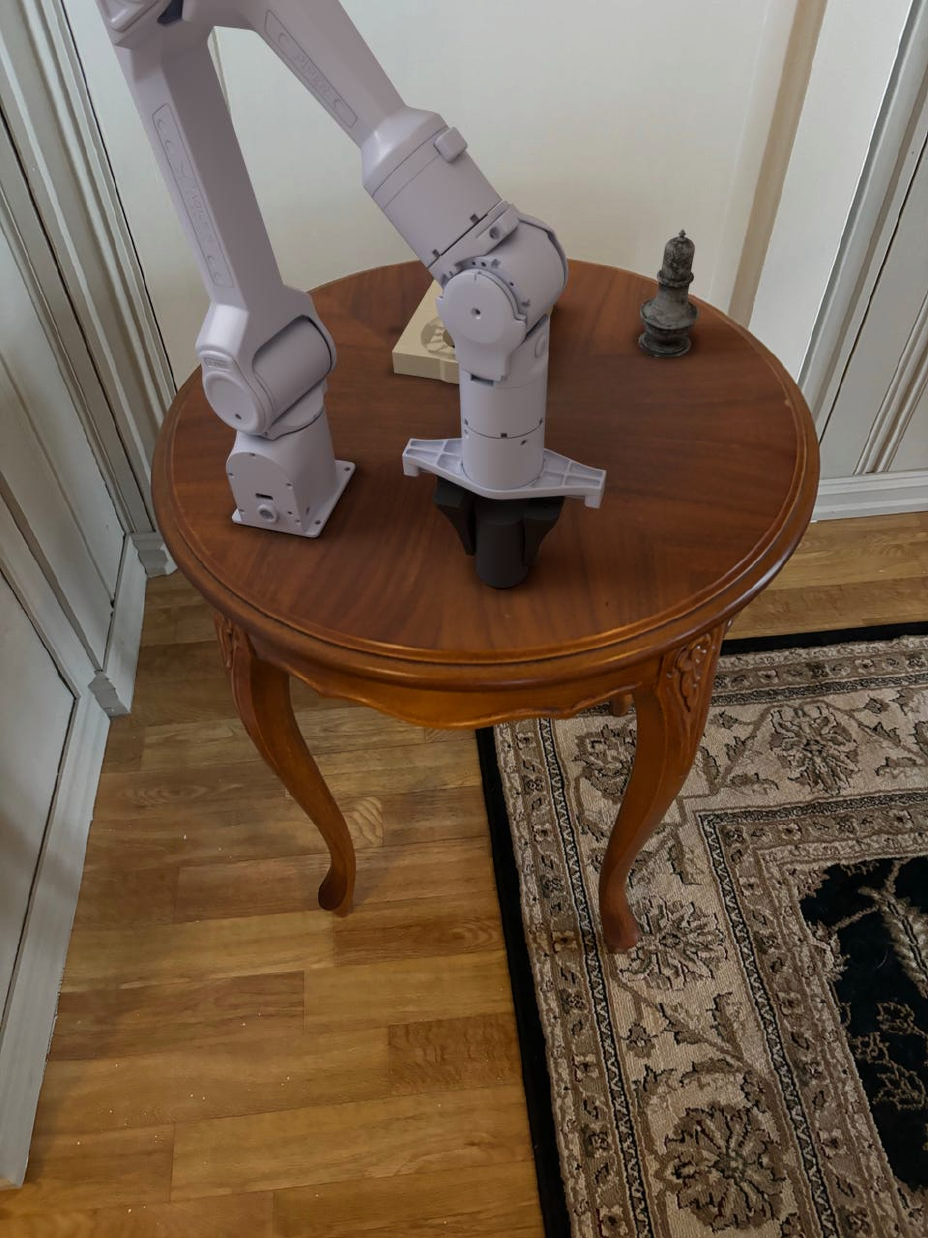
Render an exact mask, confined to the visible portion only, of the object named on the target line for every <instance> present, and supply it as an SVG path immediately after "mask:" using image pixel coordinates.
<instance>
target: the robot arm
mask: <svg viewBox="0 0 928 1238" xmlns="http://www.w3.org/2000/svg"><path fill="white" fill-rule="evenodd" d="M94 1H95V4H96V7H97V9H98V12H99V15H100V17H101V20H102V22H103V25H104V27H105V30H106V33H107V36H108V38H109V40H110V43H111V46H112V49H113V51H114V53H115V56H116V59H117V61H118V64H119V66H120V69H121V73H122V75H123V77H124V80H125V82H126V85H127V87H128V90H129V93H130V96H131V98H132V100H133V103H134V106H135V109H136V111H137V114H138V116H139V118H140V121H141V124H142V126H143V129H144V131H145V134H146V137H147V139H148V142H149V145H150V147H151V150H152V152H153V155H154V157H155V160H156V164H157V165H158V168H159V171H160V174H161V176H162V178H163V181H164V183H165V186H166V189H167V191H168V194H169V197H170V199H171V202H172V204H173V207H174V210H175V212H176V215H177V217H178V220H179V223H180V225H181V228H182V231H183V233H184V236H185V239H186V241H187V244H188V246H189V249H190V251H191V255H192V256H193V259H194V261H195V264H196V268H197V270H198V273H199V275H200V278H201V279H202V280H201V281H202V283H203V285H204V288H205V291H206V293H207V296H208V298H209V301H210V302H209V303H210V304H209V307H208V310H207V312H206V315H205V318H204V320H203V323H202V325H201V328H200V330H199V333H198V335H197V339H196V342H195V344H194V345H195V346H194V349H195V351H196V354H197V356H198V359H199V362H200V364H201V371H202V372H201V375H202V376H201V377H202V378H201V380H202V381H201V382H202V387H203V390H204V394H205V398H206V399H207V402H208V403H209V405H210V407H211V408H212V410H213V411H214V412H215V413H216V415H217V416H218V417H219V419H221V420H222V422H224V423H225V424H227V425H228V426H229V427H231V428H232V429H234V430H236V435H235V441H234V444H233V447H232V449H231V451H230V453H229V455H228V458H227V460H226V463H225V472H226V476H227V479H228V483H229V485H230V489H231V492H232V495H233V498H234V501H235V504H236V507H237V508H236V509H235V510H234V512H233V514H232V516H231V519H232V522H233V523H236V524H239V525H245V526H250V527H255V528H260V529H265V530H272V531H277V532H283V533H286V534H292V535H296V536H301V537H307V538H317V537H319V535H320V534H321V532H322V530H323V529H324V526H325V525H326V523H327V521H328V519H329V518H330V516H331V514H332V512H333V511H334V508H335V507H336V506H337V505H336V504H337V503H338V501H339V500H340V498H341V496H342V494H343V492H344V490H345V488H346V486H347V485H348V483H349V481H350V479H351V478H352V476H353V474H354V472H355V470H356V464H355V463H354V462H351V461H345V460H340V459H336V457H335V452H334V451H335V450H334V447H333V442H332V436H331V430H330V425H329V420H328V413H327V409H326V404H325V394H326V393H327V392H328V391H329V390H328V383H327V378H326V377H328V376H329V375H330V374H332V372H334V370H335V368H336V365H337V362H338V355H337V349H336V345H335V342H334V340H333V337H332V336H331V334H330V331H329V330H328V329H327V327H326V326H325V324H324V323H323V322H322V320H321V318H320V317H319V315H318V312H317V311H316V308H315V307H316V306H315V304H314V301H313V298H312V296H311V295H310V294H309V293H307V292H306V291H304V290H302V289H300V288H298V287H295V286H292V285H289V284H285V283H284V281H283V278H282V275H281V272H280V270H279V266H278V262H277V259H276V256H275V253H274V250H273V247H272V245H271V244H272V243H271V241H270V238H269V233H268V231H267V228H266V225H265V222H264V219H263V215H262V213H261V209H260V206H259V203H258V200H257V196H256V194H255V190H254V186H253V184H252V181H251V178H250V174H249V171H248V168H247V166H246V162H245V159H244V155H243V152H242V149H241V146H240V143H239V140H238V135H237V133H236V130H235V127H234V125H233V121H232V117H231V115H230V111H229V109H228V105H227V102H226V99H225V95H224V93H223V90H222V86H221V83H220V80H219V76H218V74H217V70H216V67H215V64H214V61H213V57H212V55H211V51H210V48H209V44H208V43H209V38H210V35H211V33H212V32H213V29H214V27H219V28H220V27H221V28H229V29H238V30H247V31H252V32H254V33H255V34H257V35H258V37H260V38H261V39H262V41H264V43H266V45H267V47H269V48H270V49H271V51H272V52H273V53H274V54H275V55H276V56H277V57H278V59H279V60H280V61H281V62H282V63H283V64H284V65H285V66H286V67H287V69H288V70H289V71H290V72H291V73H292V74H293V75H294V76H295V77H296V79H297V80H298V81H299V82H300V83H301V84H302V85H303V87H304V88H305V89H306V90H307V91H308V92H309V93H310V94H311V96H312V97H313V98H314V99H315V100H316V101H317V102H318V103H319V105H320V106H321V107H322V108H323V109H324V110H325V112H327V114H328V115H329V116H330V118H332V119H333V120H334V121H335V123H336V124H337V125H338V126H339V127H340V129H342V131H343V132H344V133H345V134H346V135H347V137H349V138H350V140H351V141H352V142H353V143H354V144H355V145H356V147H358V149H359V151H360V155H361V183H362V184H361V185H362V186H363V189H364V190H365V192H366V193H367V194H368V195H369V197H370V198H371V199H372V200H373V202H374V203H375V204H376V206H377V208H378V209H380V211H381V212H382V213H383V215H384V216H385V217H386V218H387V220H388V221H389V222H390V223H391V225H392V226H393V228H394V229H395V230H396V232H398V234H399V235H400V236H401V238H402V239H403V240H404V241H405V243H406V244H407V245H408V247H409V249H411V250H412V251H413V253H414V254H415V255H416V256H417V258H418V259H419V260H420V262H421V263H422V264H423V265H424V267H425V268H426V269H427V268H428V269H427V271H428V272H429V273H430V275H431V276H432V277H433V278H434V279H435V280H436V281H437V282H438V283H439V285H440V286H441V287H442V289H443V292H442V293H441V294H440V297H438V296H437V297H436V298H435V302H436V307H437V311H438V314H439V317H440V319H441V321H442V323H443V325H444V327H445V328H446V330H447V331H448V333H449V334H450V336H451V337H452V339H453V342H454V345H453V346H454V348H455V355H456V361H457V362H459V383H460V384H459V405H460V424H461V425H460V430H461V437H458V438H441V439H419V438H413V437H412V438H409V440H408V442H407V445H406V446H405V448H404V450H403V453H402V456H401V457H402V465H403V474H404V475H405V476H409V477H419V476H420V474H421V472H422V473H427V474H433V475H436V479H437V480H436V481H437V482H436V487H435V489H434V491H433V495H432V499H433V503H434V507H435V508H437V509H438V510H439V511H440V512H441V513H443V515H444V516H445V517H446V518H447V520H448V521H449V522H450V523H451V525H452V527H453V528H454V530H455V532H456V534H457V536H458V538H459V540H460V542H461V545H462V548H463V550H464V553H465V555H466V556H471V557H474V556H476V553H475V520H474V503H475V500H476V498H477V497H478V496H479V495H481V496H484V497H487V498H492V499H519V498H528V499H529V500H528V503H527V506H526V509H525V511H524V514H523V522H524V528H525V539H526V543H525V552H524V566H527V567H528V568H533V567H534V565H535V562H536V559H537V556H538V553H539V550H540V549H539V548H540V546H541V544H542V542H543V541H544V540H545V538H546V536H547V535H548V534H549V533H550V532H551V531H552V530H553V529H554V527H555V526H556V524H557V523H558V521H559V519H560V517H561V513H562V510H563V507H564V504H565V501H566V498H571V499H577V500H582V501H584V506H585V507H587V508H593V509H600V507H601V504H602V500H603V497H604V493H605V486H606V478H607V470H605V469H601V468H595V467H592V466H588V465H586V464H584V463H580V462H578V461H576V460H574V459H571V458H569V457H567V456H564V455H562V454H560V453H558V452H555V451H553V450H551V449H549V448H546V447H545V433H546V412H547V395H548V393H547V392H548V375H549V374H548V372H549V356H550V355H549V354H550V353H549V351H550V349H549V347H550V329H551V328H550V327H551V326H550V325H551V315H550V316H549V315H548V314H545V313H546V312H547V311H548V310H549V309H550V308H551V307H552V306H553V307H554V305H555V304H556V303H557V302H558V300H559V299H560V297H561V296H562V294H563V292H564V291H565V289H566V286H567V284H568V279H569V263H568V259H567V256H566V252H565V250H564V248H563V246H562V244H561V243H560V241H559V239H558V236H557V234H556V232H555V230H554V229H553V228H552V227H551V226H550V225H549V224H547V223H546V222H545V221H543V220H541V219H539V218H537V217H535V216H533V215H529V214H526V213H523V212H522V211H520V210H519V209H518V208H517V207H516V206H515V204H514V203H513V202H512V203H509V202H508V201H507V200H503V199H502V198H501V196H500V194H499V193H498V191H496V189H495V188H494V186H493V185H492V184H491V182H490V181H489V180H488V178H487V176H485V174H484V173H483V171H482V170H481V169H480V168H479V166H478V165H477V163H476V162H475V161H474V159H473V158H472V156H471V155H470V154H469V152H468V151H467V149H468V147H469V144H468V141H466V139H465V138H464V137H463V136H462V134H461V132H460V131H459V130H458V128H457V127H455V126H451V127H450V126H449V125H448V124H447V122H446V121H445V119H444V118H443V117H442V115H441V114H439V113H438V112H435V111H431V110H426V109H421V108H416V107H411V106H410V105H407V104H406V103H405V101H404V99H403V98H402V96H401V95H400V93H399V92H398V90H397V88H396V87H395V86H394V84H393V82H392V81H391V80H390V77H388V75H387V73H386V72H385V70H384V69H383V67H382V66H381V64H380V62H379V61H378V59H377V58H376V57H375V55H374V53H373V52H372V49H370V47H369V45H368V44H367V41H366V40H365V39H364V38H363V36H362V35H361V33H360V31H359V30H358V28H357V27H356V25H355V24H354V22H353V20H352V19H351V18H350V16H349V14H348V13H347V11H346V10H345V8H344V7H343V5H342V4H341V2H340V1H339V0H94Z"/></svg>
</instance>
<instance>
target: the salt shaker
mask: <svg viewBox="0 0 928 1238" xmlns="http://www.w3.org/2000/svg"><path fill="white" fill-rule="evenodd" d="M677 234H678V236H675V237H673V238H670V239H669V240H668V241H666V243H665V245H664V250H663V257H662V264H661V269H660V270H658V271H657V273H656V280H657V281H658V285H657V293H656V295H655V296H654V297H652V298H649V299H647V300H646V301H644V302H643V303H642V304H641V306H640V307H639V315H640V318H641V322H642V325H643V329H644V332H642V334H640V336H639V337H638V346H639V348H640V349H641V350H642V351H643V352H644V353H646V354H648V355H650V356H652V357H654V358H655V357H656V358H659V359H660V358H662V359H674V358H678V357H682V356H683V355H685V354H686V353H687V352H689V350H690V349H691V346H692V345H691V344H692V342H691V340H690V338H689V337H688V335H689V334H690V332H691V330H692V329H693V328H694V326H695V324H696V323H697V322H698V320H699V319H700V311H699V308H698V307H697V306H696V305H695V304H694V302H692V301H690V300H689V296H688V295H689V290H690V285H691V283H693V281H695V275H694V273H693V272H692V268H693V262H694V257H695V252H696V246H695V243H694V242H693V240H692V239H690V238H688V237H686V235H687V233H686V231H685V230H684V229H681V230H680V231H679V232H678V233H677Z"/></svg>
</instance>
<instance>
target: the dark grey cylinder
mask: <svg viewBox="0 0 928 1238" xmlns="http://www.w3.org/2000/svg"><path fill="white" fill-rule="evenodd" d="M528 500H529V498H519V499H492V498H487V497H484V496H481V495H479V496H478V497H477V498H476V500H475V503H474V520H475V572H476V575H477V578H479V580H480V581H481V582H482V583H484V584H485V585H487V586H490V587H493V588H498V589H507V588H511V587H514V586H516V585H518V584H520V583H522V582H523V581H524V580H525V578H526V577H527V575H528V572H529V567H527V566H524V552H525V543H526V539H525V528H524V522H523V514H524V511H525V509H526V506H527V503H528Z"/></svg>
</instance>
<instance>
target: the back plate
mask: <svg viewBox="0 0 928 1238" xmlns="http://www.w3.org/2000/svg"><path fill="white" fill-rule="evenodd" d="M442 292H443V289H442V287H441V286H440V285H439V283H438V282H437V281H436V280H435V278H434V279H433V281H432V282H431V284H430V286H429V287H428V289H427V291H426V293H425V295H424V296H423V298H422V300H421V301H420V303H419V305H418V306H417V308H416V309H415V312H414V313H413V315H412V317H411V318H410V320H409V322H408V324H407V325H406V327H405V328H404V330H403V332H402V334H401V335H400V337H399V339H398V341H397V343H396V344H395V346H394V347H393V349H392V351H391V355H392V364H393V372H394V374H399V375H407V376H414V377H420V378H426V379H433V380H440V381H443V382H446V383H448V384H456V385H460V383H459V362H457V361H456V355H455V347H453V346H455V345H454V342H453V339H452V337H451V336H450V334H449V333H448V331H447V330H446V328H445V327H444V325H443V323H442V321H441V319H440V317H439V314H438V311H437V307H436V302H435V298H436V297H437V296H438V297H440V294H441V293H442ZM553 310H554V305H553V306H552V307H551V308H550V309H549V310H548V311H547V312H546V313H545V314H548V315H549V316H550V317H551V315H552V312H553Z"/></svg>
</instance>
